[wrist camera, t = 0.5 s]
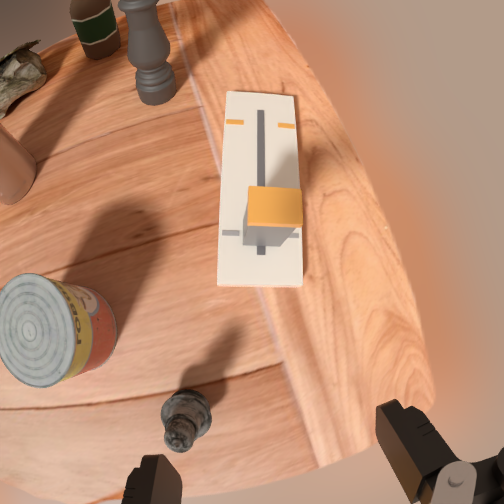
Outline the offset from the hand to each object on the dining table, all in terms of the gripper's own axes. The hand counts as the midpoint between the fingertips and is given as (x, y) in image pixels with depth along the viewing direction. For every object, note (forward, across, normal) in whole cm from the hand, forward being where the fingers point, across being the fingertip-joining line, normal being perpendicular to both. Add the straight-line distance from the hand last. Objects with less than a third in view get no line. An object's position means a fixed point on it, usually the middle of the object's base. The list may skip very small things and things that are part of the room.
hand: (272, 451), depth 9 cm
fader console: (+34, -5, -8) cm, 35 cm away
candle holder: (+41, +7, -26) cm, 49 cm away
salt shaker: (+21, +11, +16) cm, 29 cm away
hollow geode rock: (+42, +42, -41) cm, 72 cm away
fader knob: (+28, -3, -2) cm, 28 cm away
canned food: (+25, +23, +3) cm, 34 cm away
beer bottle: (+47, +16, -43) cm, 66 cm away
